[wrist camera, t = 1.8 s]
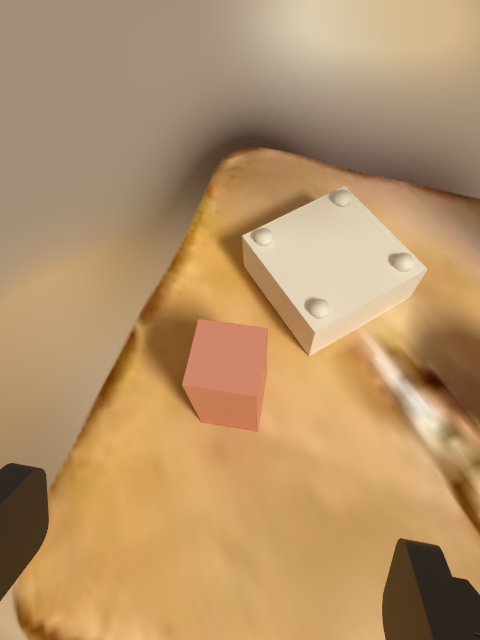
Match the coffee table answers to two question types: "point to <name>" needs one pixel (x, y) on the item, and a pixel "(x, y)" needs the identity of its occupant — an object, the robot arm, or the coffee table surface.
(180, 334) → the coffee table surface
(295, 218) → the base brick
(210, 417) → the tall block
